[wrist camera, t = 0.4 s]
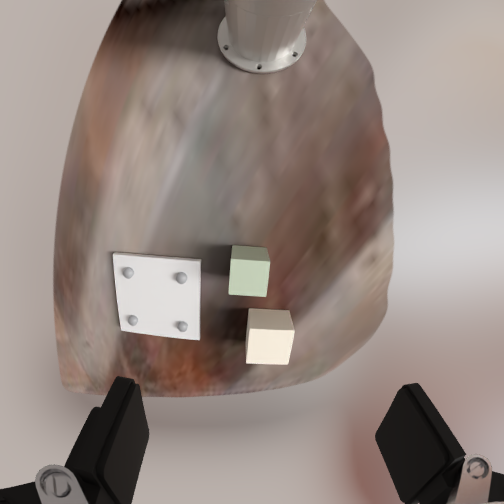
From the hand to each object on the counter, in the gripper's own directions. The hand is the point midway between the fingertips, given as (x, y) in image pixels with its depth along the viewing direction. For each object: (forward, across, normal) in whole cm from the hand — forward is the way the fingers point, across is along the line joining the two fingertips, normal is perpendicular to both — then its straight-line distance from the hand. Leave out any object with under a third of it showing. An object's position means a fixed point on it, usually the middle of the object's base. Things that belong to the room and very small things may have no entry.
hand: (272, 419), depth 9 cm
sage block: (+35, 0, +6) cm, 35 cm away
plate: (+35, +14, +13) cm, 39 cm away
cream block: (+35, -4, +17) cm, 39 cm away
